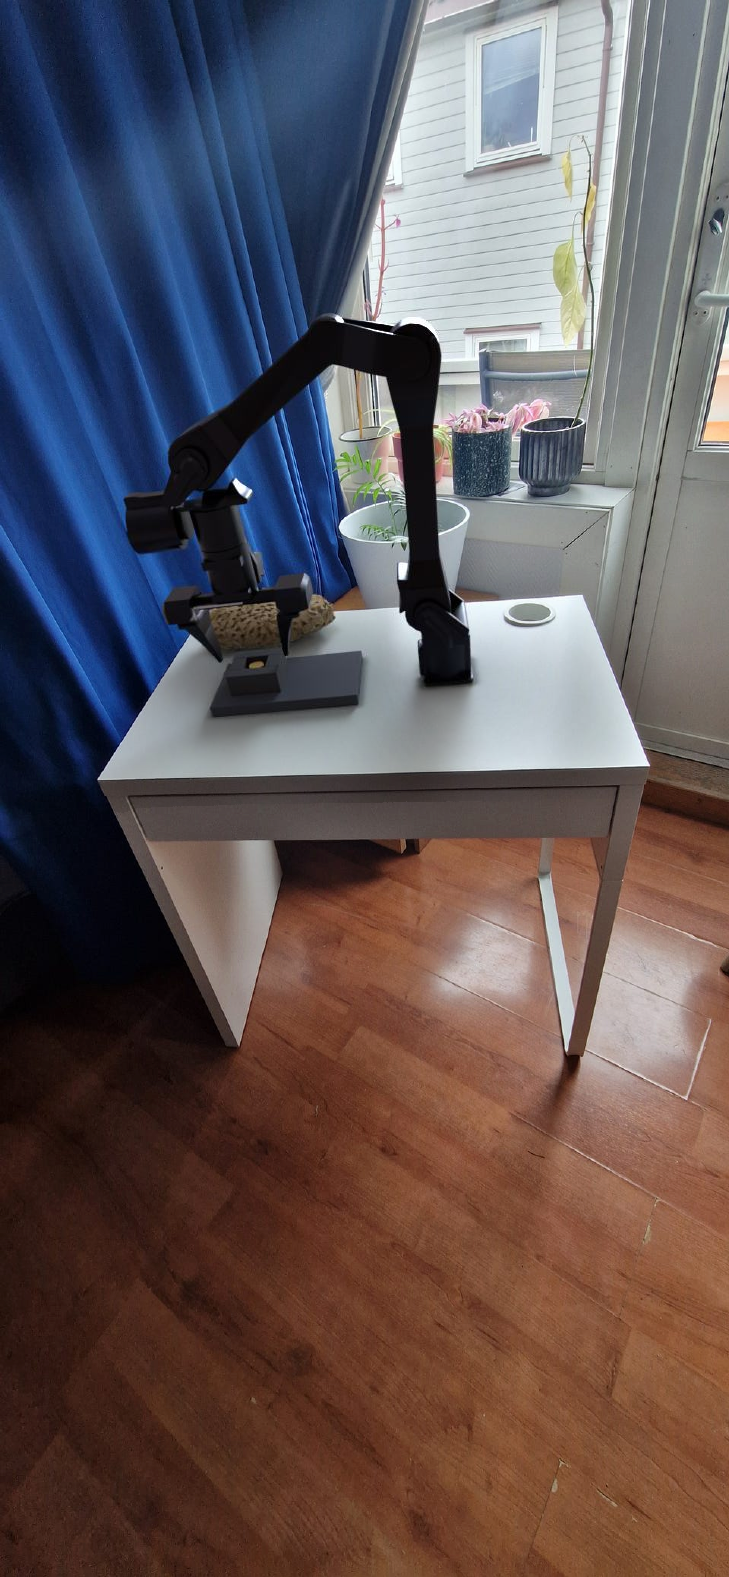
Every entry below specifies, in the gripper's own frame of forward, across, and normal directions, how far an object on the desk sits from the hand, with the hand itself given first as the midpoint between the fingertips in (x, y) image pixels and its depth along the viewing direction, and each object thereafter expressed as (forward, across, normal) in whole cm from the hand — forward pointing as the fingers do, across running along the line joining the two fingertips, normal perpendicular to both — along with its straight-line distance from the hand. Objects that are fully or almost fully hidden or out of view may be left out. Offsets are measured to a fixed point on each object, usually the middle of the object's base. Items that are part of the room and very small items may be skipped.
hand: (253, 658), depth 89 cm
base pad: (+5, -4, 0) cm, 6 cm away
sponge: (+5, +1, -16) cm, 16 cm away
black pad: (+4, 0, 0) cm, 4 cm away
